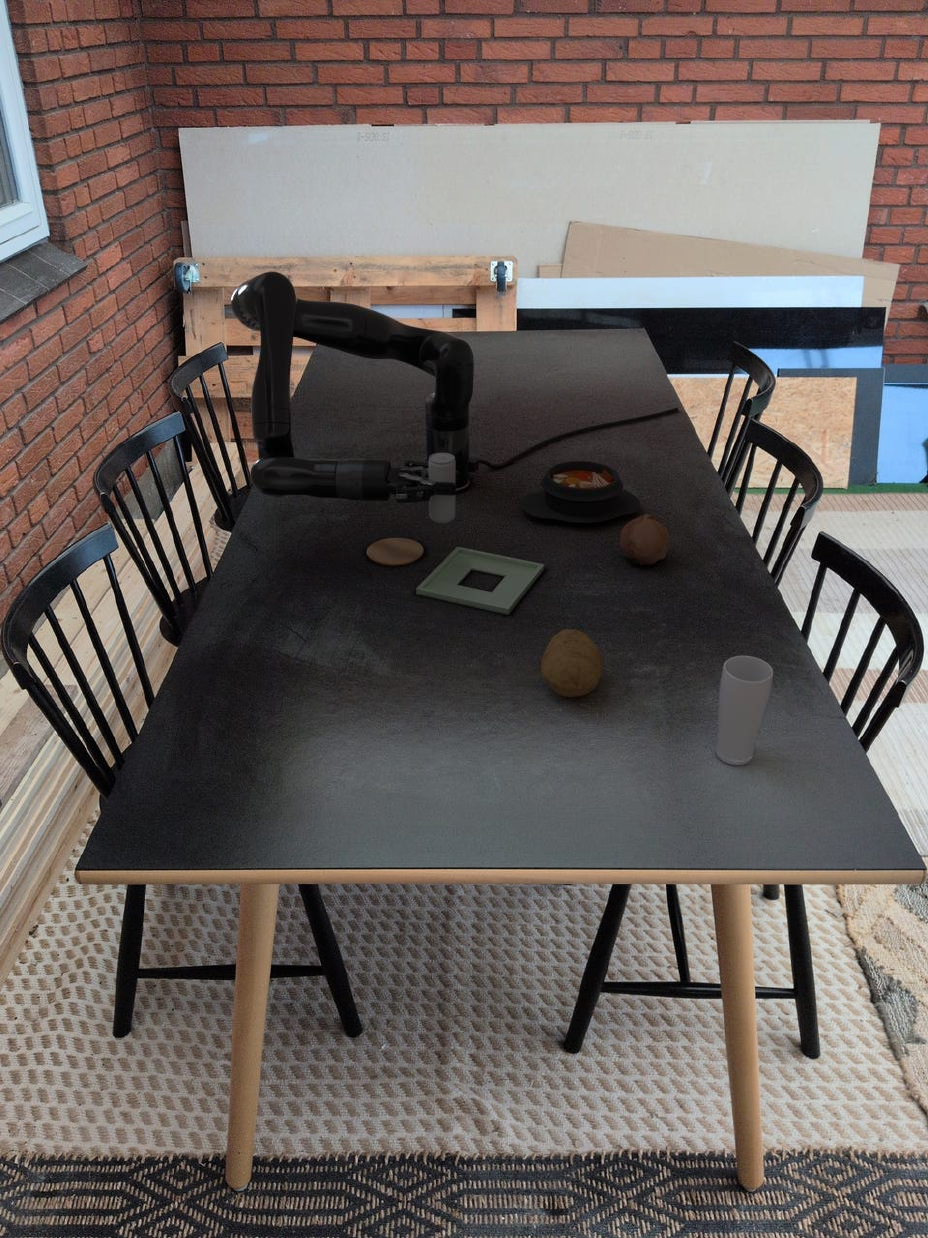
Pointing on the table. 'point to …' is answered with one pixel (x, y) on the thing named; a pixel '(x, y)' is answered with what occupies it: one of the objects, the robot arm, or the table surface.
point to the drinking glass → (742, 706)
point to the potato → (571, 664)
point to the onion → (644, 540)
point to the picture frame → (464, 560)
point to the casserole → (580, 494)
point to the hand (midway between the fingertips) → (456, 482)
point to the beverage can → (442, 472)
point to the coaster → (395, 551)
